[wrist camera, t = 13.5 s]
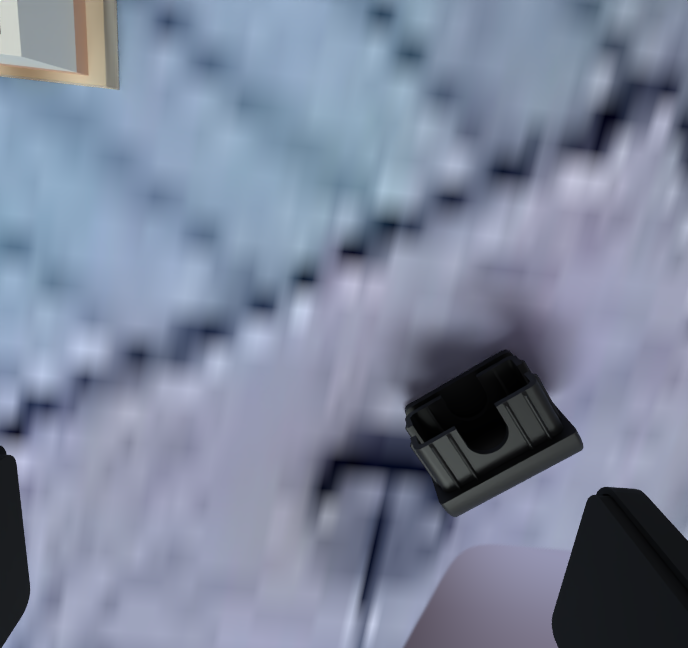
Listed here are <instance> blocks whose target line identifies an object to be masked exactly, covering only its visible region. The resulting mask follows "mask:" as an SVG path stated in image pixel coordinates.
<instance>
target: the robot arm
mask: <svg viewBox="0 0 688 648" xmlns="http://www.w3.org/2000/svg"><path fill="white" fill-rule="evenodd" d="M29 596H30V582H29V573H28V564H27V555H26V546H25V537H24V528H23V519H22V510H21V501H20V492H19V483H18V474H17V465H16V460H15V458H14V457H13V456H11V455H7V454H6V451H5V449H4V448H3V447H2V446H0V648H2V646H3V645H4V643H5V642H6V640H7V638H8V637H9V635H10V634H11V632H12V631H13V629H14V628H15V626H16V624H17V623H18V621H19V620H20V618H21V617H22V615H23V613H24V611H25V609H26V606H27V604H28V600H29ZM552 629H553V635H554V638H555V641H556V643H557V646H558V648H688V541H687V539H686V538H685V537H684V536H683V535H682V534H681V533H680V532H679V531H678V530H677V529H676V527H675V526H674V525H673V524H672V523H671V522H670V521H669V520H668V519H667V518H666V516H665V515H664V514H663V513H662V512H661V511H660V510H659V509H658V508H657V507H656V506H655V504H654V503H653V502H652V501H651V500H650V499H649V498H648V497H647V496H646V495H645V494H644V493H643V492H642V491H641V490H637V489H629V488H614V487H603V488H601V489H600V490H599V491H598V492H597V494H596V495H592V496H590V497H589V498H588V500H587V502H586V506H585V509H584V512H583V516H582V519H581V522H580V526H579V529H578V532H577V536H576V539H575V542H574V546H573V549H572V552H571V556H570V559H569V562H568V566H567V569H566V573H565V576H564V579H563V582H562V586H561V589H560V592H559V596H558V599H557V602H556V606H555V609H554V612H553V617H552Z"/></svg>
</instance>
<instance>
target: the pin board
mask: <svg viewBox="0 0 688 648" xmlns="http://www.w3.org/2000/svg"><path fill="white" fill-rule="evenodd" d="M85 6H86V29H87V51H88V74H89V76H86V75H78V74H69V73H61V72H52V71H44V70H35V69H27V68H19V67H10V66H2V65H0V76H2V77H11V78H20V79H29V80H38V81H46V82H55V83H64V84H73V85H82V86H90V87H99V88H108V89H117V90H119V66H118V33H117V0H85ZM0 34H1V30H0Z"/></svg>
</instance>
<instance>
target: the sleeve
mask: <svg viewBox="0 0 688 648" xmlns="http://www.w3.org/2000/svg"><path fill="white" fill-rule="evenodd" d="M0 30H1V34H0V65H2V66H10V67H19V68H27V69H35V70H44V71H52V72H61V73H69V74H78V75H86V76H89V74H88V51H87V29H86V6H85V0H0Z"/></svg>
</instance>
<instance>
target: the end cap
mask: <svg viewBox="0 0 688 648" xmlns="http://www.w3.org/2000/svg"><path fill="white" fill-rule="evenodd" d="M405 413H406V418H405V421H406V430H407V432H408V433H409V435H410V436H411V445H410V447H411V448H412V449H413V451H414V452H415V454H416V455H417V457H418V458H419V460H420V461H421V462H422V464H423V465H424V467H425V468H426V470H427V471H428V472H429V474H430V475H431V477H432V480H433V483H434V487H435V490H436V493H437V496H438V499H439V502H440V504H441V505H442V507H443V508H444V509H445V510H446V511H447V513H449V514H450V515H451V516H453V517H457V516H459V515H461V514H463V513H465V512H467V511H469V510H470V509H472V508H474V507H476V506H478V505H480V504H482V503H484V502H486V501H487V500H489V499H491V498H493V497H495V496H497V495H499V494H501V493H502V492H504V491H506V490H508V489H510V488H512V487H514V486H516V485H517V484H519V483H521V482H523V481H525V480H527V479H529V478H531V477H532V476H534V475H536V474H538V473H540V472H542V471H544V470H546V469H548V468H549V467H551V466H553V465H555V464H557V463H559V462H561V461H563V460H564V459H566V458H568V457H570V456H572V455H574V454H576V453H578V452H579V451H581V450H582V449H583V443H582V440H581V438H580V436H579V434H578V432H577V430H576V428H575V427H574V426H573V425H572V424H571V423H570V422H569V421H568V419H567V418H566V417H565V416H564V415H563V414H562V413H561V411H560V410H559V409H558V408H557V407H556V406H555V405H554V403H553V402H552V400H551V399H550V397H549V395H548V393H547V392H546V390H545V388H544V386H543V384H542V383H541V381H540V379H539V377H538V376H537V375H536V374H532V373H531V372H530V370H529V368H528V367H527V365H526V363H525V361H523V360H519V359H518V358H517V357H516V356H514V355H513V354H512V353H511V352H510V351H508V350H503V351H501V352H499V353H497V354H495V355H494V356H492V357H490V358H488V359H487V360H485V361H483V362H482V363H480V364H478V365H476V366H475V367H473V368H471V369H469V370H468V371H466V372H464V373H462V374H461V375H459V376H457V377H456V378H454V379H452V380H450V381H449V382H447V383H445V384H443V385H442V386H440V387H438V388H437V389H435V390H433V391H431V392H430V393H428V394H426V395H424V396H423V397H421V398H419V399H417V400H416V401H414V402H412V403H411V404H409V405H408V406H407V407H406V408H405Z"/></svg>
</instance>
